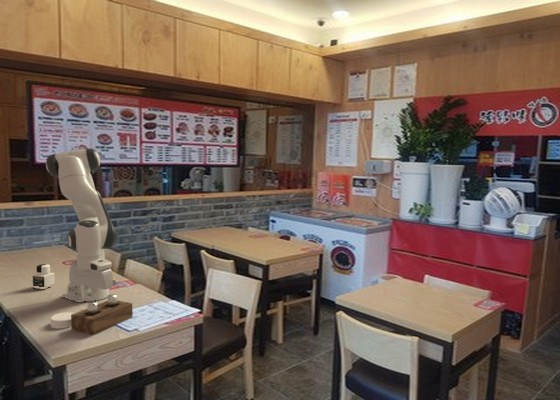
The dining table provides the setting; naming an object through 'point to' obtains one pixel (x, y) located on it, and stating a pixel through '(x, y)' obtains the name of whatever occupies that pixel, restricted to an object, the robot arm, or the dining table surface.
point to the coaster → (61, 320)
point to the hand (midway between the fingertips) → (91, 297)
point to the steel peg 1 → (92, 308)
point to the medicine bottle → (43, 276)
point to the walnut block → (101, 317)
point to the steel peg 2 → (112, 300)
